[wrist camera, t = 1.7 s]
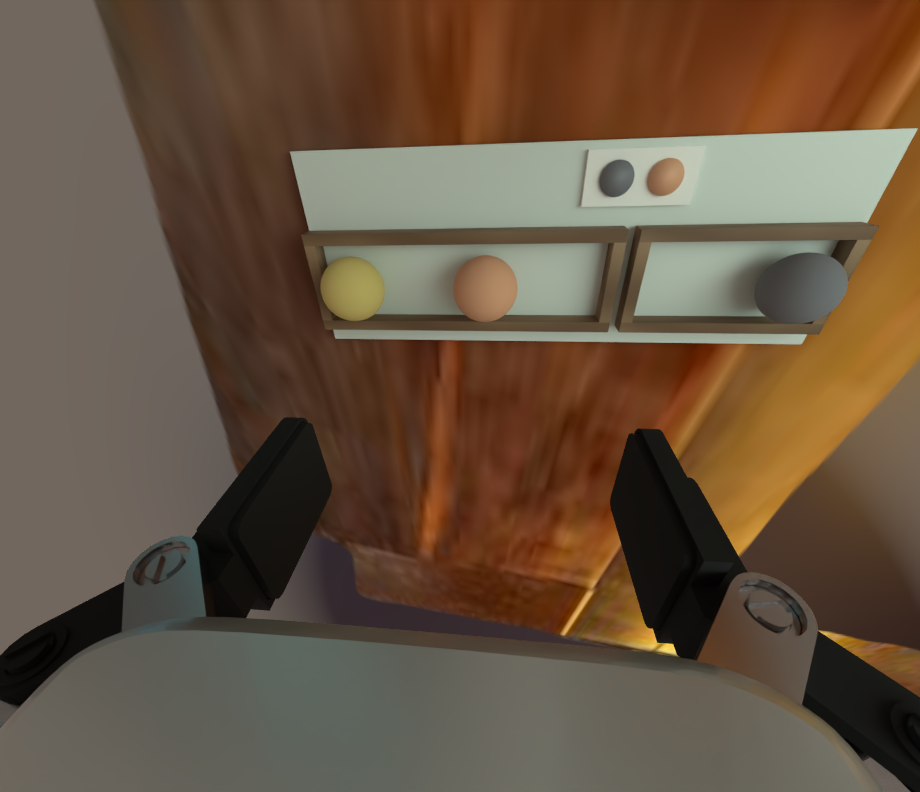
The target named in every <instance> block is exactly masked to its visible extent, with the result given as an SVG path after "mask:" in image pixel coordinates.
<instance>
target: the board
mask: <svg viewBox="0 0 920 792" xmlns="http://www.w3.org/2000/svg"><path fill="white" fill-rule="evenodd" d="M917 129H918V128H911V129H876V130H849V131H822V132H795V133H768V134H742V135H715V136H688V137H661V138H634V139H607V140H580V141H554V142H527V143H500V144H473V145H446V146H419V147H393V148H366V149H339V150H312V151H293V152H290V154H291V158H292V162H293V166H294V170H295V175H296V179H297V183H298V187H299V191H300V195H301V199H302V203H303V207H304V212H305V216H306V220H307V224H308V228H309V231H321V230H383V229H445V228H507V227H569V226H625V227H626V228H628V229H629V234H628V239H627V244H626V248H625V253H624V258H623V263H622V267H621V272H620V277H619V282H618V287H617V291H616V296H615V301H614V306H613V311H612V315H611V320H610V325H609V330H608V332H522V331H422V330H333V331H334V335H335V339H411V340H493V341H574V342H656V343H737V344H802V343H803V341H804V339H805V337H806V335H807V334H724V333H623V332H618V330H617V329H616V327H615V320H616V315H617V311H618V306H619V302H620V297H621V292H622V288H623V283H624V278H625V274H626V269H627V265H628V260H629V255H630V251H631V246H632V242H633V237H634V232H635V228H636V225H694V224H756V223H818V222H865V223H867V222H868V220H869V218H870V216H871V214H872V213H873V211H874V209H875V207H876V205H877V203H878V201H879V200H880V198H881V196H882V194H883V192H884V190H885V188H886V187H887V185H888V183H889V181H890V179H891V177H892V175H893V174H894V172H895V170H896V168H897V166H898V164H899V162H900V161H901V159H902V157H903V155H904V153H905V151H906V149H907V148H908V146H909V144H910V142H911V140H912V138H913V136H914V135H915V133H916V131H917ZM838 241H839V240H806V241H722V242H652V243H651V247H650V251H649V255H648V260H647V264H646V268H645V272H644V276H643V280H642V284H641V288H640V292H639V296H638V301H637V305H636V309H635V313H634V316H765V315H763V314H762V313H761V312H760V310H759V309H758V307H757V305H756V302H755V297H754V294H755V287H756V284H757V282H758V280H759V278H760V277H761V275H762V274H763V273H764V272H765V271H766V269H768V268H769V267H770V266H771V265H773V264H774V263H775V262H777V261H779V260H781V259H783V258H785V257H787V256H790V255H794V254H798V253H806V252H812V253H821V254H825V255H828V256H830V257H831V255H832V253H833V251H834V249H835V247H836V245H837V243H838ZM608 244H609V243H555V244H471V245H388V246H323V248H324V252H325V257H326V261H327V265H328V266H329V265H330V264H331V263H332V262H334V261H335V260H337V259H340V258H343V257H358V258H361V259H364V260H366V261H368V262H369V263H371V264H372V265H373V266H374V267H375V268H376V269H377V270H378V271H379V273H380V274H381V276H382V279H383V282H384V286H385V296H384V301H383V303H382V305H381V307H380V309H379V310H378V311H377V312H376V313H375V314H444V315H465V314H463V312H462V311H461V310H460V309H459V308H458V306H457V304H456V301H455V298H454V293H453V285H454V280H455V277H456V275H457V273H458V271H459V269H460V268H461V267H462V266H463V265H464V264H465V263H466V262H467V261H469V260H470V259H472V258H475V257H477V256H483V255H489V256H494V257H497V258H500V259H502V260H503V261H504V262H506V263H507V264H508V265H509V266H510V267H511V269H512V270H513V272H514V274H515V277H516V280H517V288H518V290H517V296H516V300H515V302H514V304H513V306H512V308H511V309H510V310H509V311H508V312H507V313H506V314H505V315H596V309H597V304H598V298H599V293H600V287H601V282H602V277H603V271H604V266H605V260H606V255H607V249H608Z"/></svg>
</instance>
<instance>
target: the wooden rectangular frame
mask: <svg viewBox="0 0 920 792" xmlns="http://www.w3.org/2000/svg"><path fill="white" fill-rule="evenodd" d="M878 227H879V226H877V225H873V224H869V223H865V222H818V223H756V224H694V225H636V228H635V232H634V237H633V242H632V246H631V251H630V255H629V260H628V265H627V269H626V274H625V278H624V283H623V288H622V292H621V297H620V302H619V306H618V311H617V315H616V320H615V327H616V329H617V330H618V332H623V333H724V334H819V333H820V331H821V329H822V328H823V326H824V324H825V322H826V320H827V319H828V317H829V315H830V313H831V312H829V313H828V314H826V315H825V316H823V317H821V318H819V319H817V320H814V321H811V322H807V323H803V324H783V323H778V322H775V321H773V320H771V319H769V318H767V317H766V316H634V313H635V309H636V305H637V301H638V296H639V292H640V288H641V284H642V280H643V276H644V272H645V268H646V264H647V260H648V255H649V251H650V247H651V243H652V242H722V241H806V240H839V241H838V243H837V245H836V247H835V249H834V251H833V253H832V255H831V257H832V258H834V259H835V260H837V261H838V262H839V263H840V264H841V265H842V266H843V268H844V269H845V271H846V274H847V278H848V281H849V279H850V277H851V276H852V274H853V272H854V270H855V268H856V267H857V265H858V263H859V261H860V259H861V258H862V256H863V254H864V252H865V250H866V249H867V247H868V245H869V243H870V241H871V240H872V238H873V236H874V234H875V233H876V231H877V229H878Z"/></svg>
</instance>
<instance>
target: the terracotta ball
mask: <svg viewBox="0 0 920 792" xmlns="http://www.w3.org/2000/svg"><path fill="white" fill-rule="evenodd" d="M517 290H518V288H517V280H516V277H515V274H514V272H513V270H512V269H511V267H510V266H509V265H508V264H507V263H506V262H504V261H503V260H502V259H500V258H497V257H494V256H489V255H483V256H477V257H475V258H472V259H470V260H469V261H467V262H466V263H465V264H464V265H463V266H462V267H461V268H460V269H459V271H458V273H457V275H456V277H455V280H454V285H453V293H454V298H455V301H456V304H457V306H458V308H459V309H460V310H461V311H462V312H463V314H465V315H466V316H467V317H469V318H470V319H473V320H475V321H479V322H491V321H494V320H497V319H499V318H501V317H503V316H504V315H505V314H506V313H507V312H508V311H509V310H510V309H511V308H512V306H513V304H514V302H515V300H516V296H517Z"/></svg>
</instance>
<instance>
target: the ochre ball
mask: <svg viewBox="0 0 920 792" xmlns="http://www.w3.org/2000/svg"><path fill="white" fill-rule="evenodd" d="M320 287H321V294H322V298H323V300H324V302H325V304H326V306H327V307H328V308H329V309H330V310H331V311H332V312H333V313H334V314H335V315H337V316H338V317H340V318H342V319H345V320H349V321H361V320H365V319H368V318H369V317H371V316H373V315H374V314H375V313H376V312H377V311H378V310H379V309H380V307H381V305H382V303H383V301H384V296H385V286H384V282H383V279H382V276H381V274H380V273H379V271H378V270H377V269H376V268H375V267H374V266H373V265H372V264H371V263H369V262H368V261H366V260H364V259H361V258H358V257H343V258H340V259H337V260H335V261H334V262H332V263H331V264H330V265H329V266H328V267H327V268H326V270H325V271H324V273H323V275H322V279H321V286H320Z"/></svg>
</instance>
